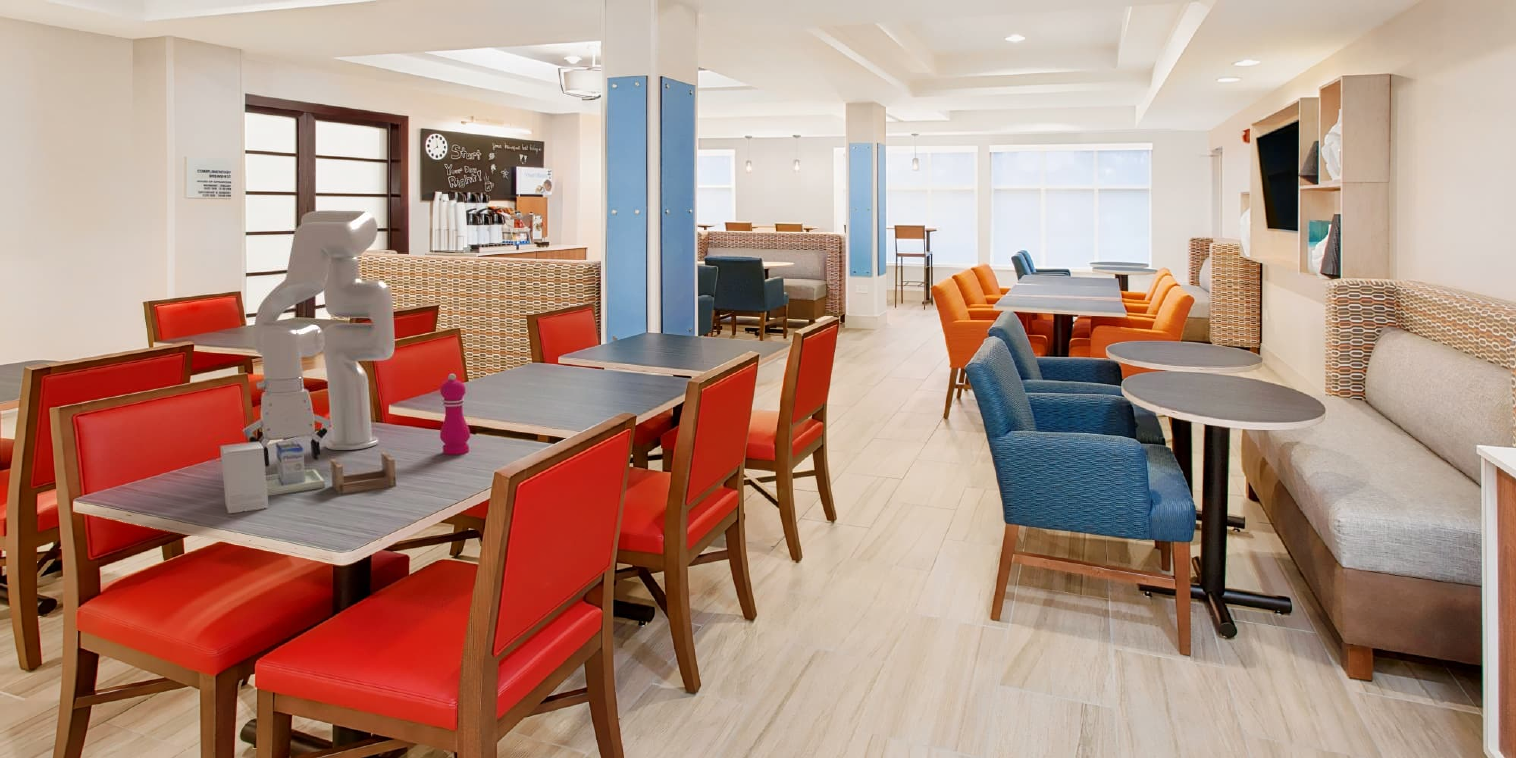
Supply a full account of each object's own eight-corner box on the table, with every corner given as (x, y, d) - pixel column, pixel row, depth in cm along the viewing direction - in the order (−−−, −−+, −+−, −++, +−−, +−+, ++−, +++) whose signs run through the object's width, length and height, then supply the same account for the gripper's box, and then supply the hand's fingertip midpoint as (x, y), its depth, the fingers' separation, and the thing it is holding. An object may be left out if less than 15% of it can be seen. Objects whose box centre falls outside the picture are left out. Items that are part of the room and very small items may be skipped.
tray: (260, 483, 208) (259, 476, 208) (315, 475, 214) (314, 469, 214) (267, 495, 199) (267, 488, 198) (324, 487, 205) (324, 480, 205)
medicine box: (278, 480, 208) (274, 442, 207) (300, 477, 211) (297, 439, 209) (283, 488, 202) (280, 449, 200) (306, 485, 204) (303, 446, 203)
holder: (332, 485, 206) (330, 459, 205) (387, 477, 213) (385, 452, 212) (339, 494, 200) (337, 466, 199) (396, 485, 207) (394, 459, 206)
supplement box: (269, 508, 190) (264, 447, 188) (227, 514, 186) (221, 452, 184) (265, 499, 196) (260, 440, 194) (225, 504, 193) (219, 445, 190)
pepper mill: (461, 456, 232) (457, 376, 229) (435, 454, 234) (430, 375, 230) (476, 449, 239) (472, 372, 236) (450, 447, 241) (446, 370, 237)
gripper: (241, 392, 195) (248, 472, 198) (330, 384, 205) (336, 459, 208) (236, 386, 201) (244, 464, 204) (324, 378, 211) (330, 452, 214)
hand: (291, 461), depth 206 cm, fingers open, 9 cm apart
